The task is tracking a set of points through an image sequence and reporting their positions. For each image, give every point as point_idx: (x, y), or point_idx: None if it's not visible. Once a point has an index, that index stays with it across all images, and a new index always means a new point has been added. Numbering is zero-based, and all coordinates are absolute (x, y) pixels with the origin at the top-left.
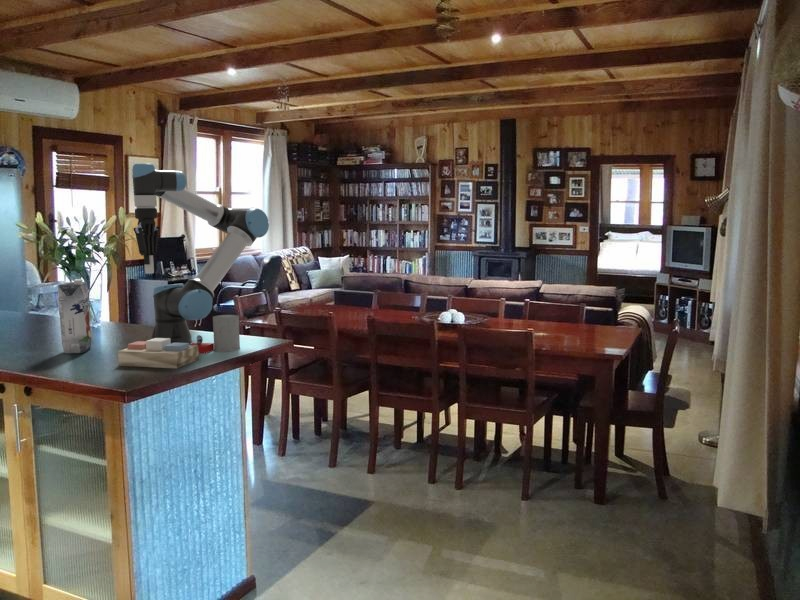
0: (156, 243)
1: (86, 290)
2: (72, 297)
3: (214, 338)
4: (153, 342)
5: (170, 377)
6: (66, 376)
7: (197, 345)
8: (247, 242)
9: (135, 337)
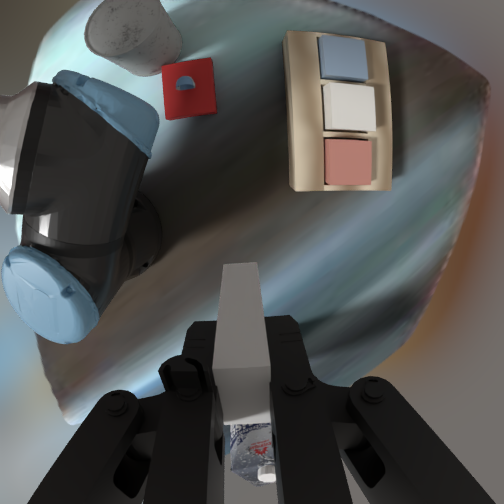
0: (67, 493)
1: (249, 448)
2: None
3: (165, 54)
4: (373, 109)
5: (425, 42)
6: (447, 225)
7: (288, 31)
8: None
9: (112, 337)
